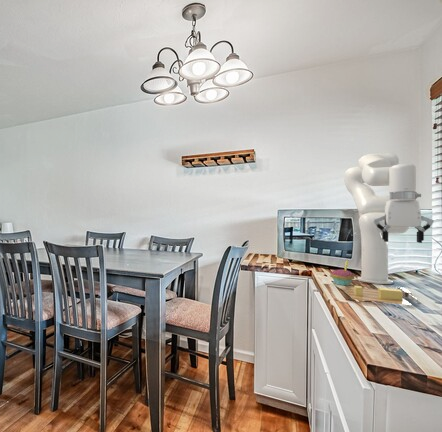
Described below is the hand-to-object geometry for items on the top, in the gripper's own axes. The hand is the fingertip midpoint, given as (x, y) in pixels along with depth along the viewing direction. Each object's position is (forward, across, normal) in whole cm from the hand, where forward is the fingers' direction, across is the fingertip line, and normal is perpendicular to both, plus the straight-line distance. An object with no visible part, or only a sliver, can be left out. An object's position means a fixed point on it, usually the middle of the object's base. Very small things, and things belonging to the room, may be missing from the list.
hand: (402, 242), depth 121 cm
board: (+20, +10, +9) cm, 24 cm away
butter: (+19, +6, +12) cm, 24 cm away
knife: (+20, 0, +7) cm, 22 cm away
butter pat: (+19, +15, +12) cm, 27 cm away
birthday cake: (+20, +18, -8) cm, 28 cm away
